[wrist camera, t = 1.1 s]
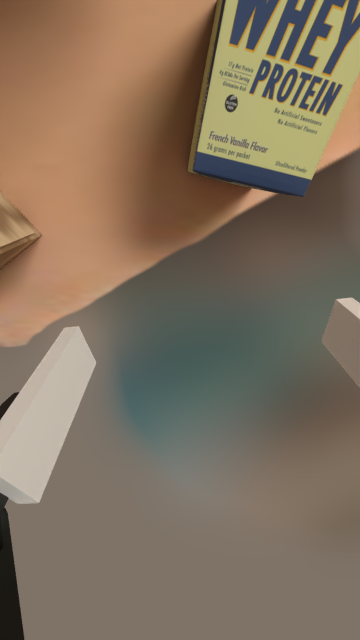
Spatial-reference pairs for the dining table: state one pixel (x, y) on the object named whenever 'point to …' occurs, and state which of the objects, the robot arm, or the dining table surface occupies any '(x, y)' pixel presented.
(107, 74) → the dining table surface
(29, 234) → the carton
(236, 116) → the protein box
